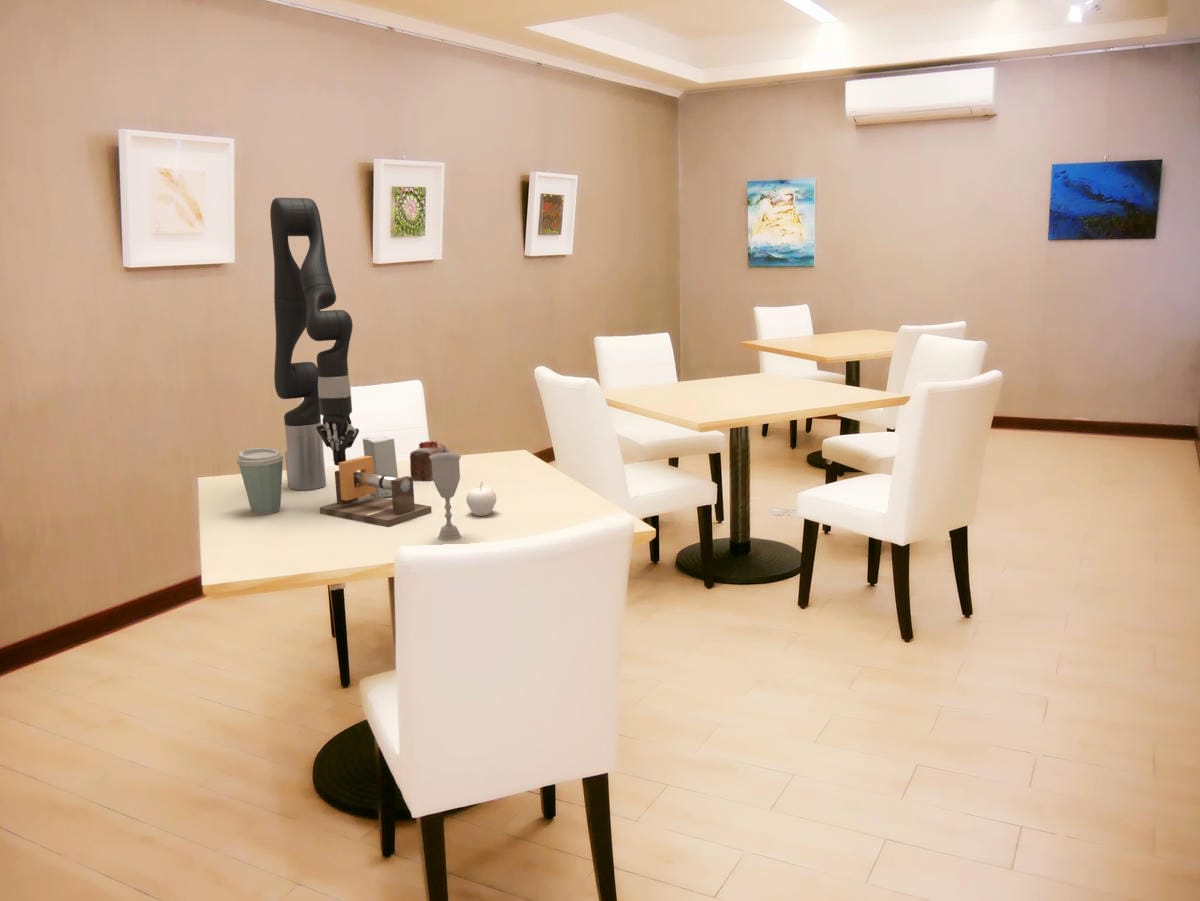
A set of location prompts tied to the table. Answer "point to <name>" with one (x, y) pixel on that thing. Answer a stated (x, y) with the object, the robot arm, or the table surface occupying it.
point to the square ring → (348, 478)
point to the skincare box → (381, 459)
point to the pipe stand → (378, 505)
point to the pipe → (378, 481)
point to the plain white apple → (481, 500)
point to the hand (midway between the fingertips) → (340, 465)
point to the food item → (424, 460)
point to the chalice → (446, 487)
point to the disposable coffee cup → (262, 478)
